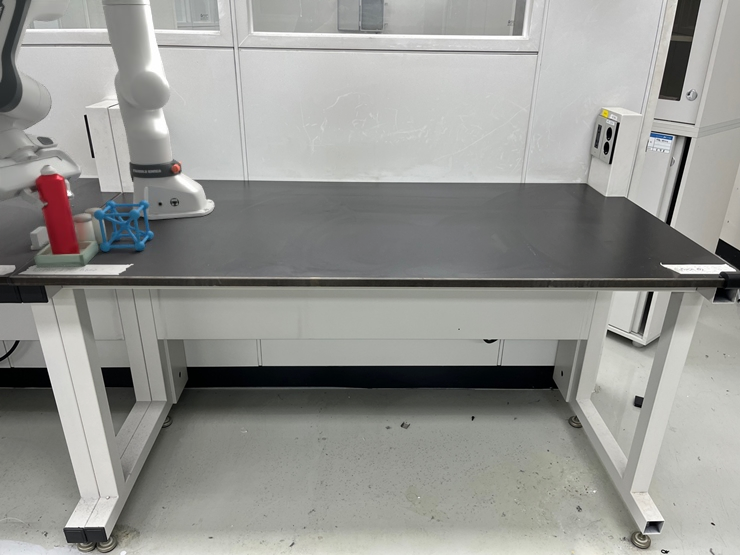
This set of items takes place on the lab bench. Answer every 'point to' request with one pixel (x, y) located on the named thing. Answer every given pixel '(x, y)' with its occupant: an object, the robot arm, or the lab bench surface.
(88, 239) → the assorted small pieces
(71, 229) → the bottle
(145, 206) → the molecular structure
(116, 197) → the lab bench surface
